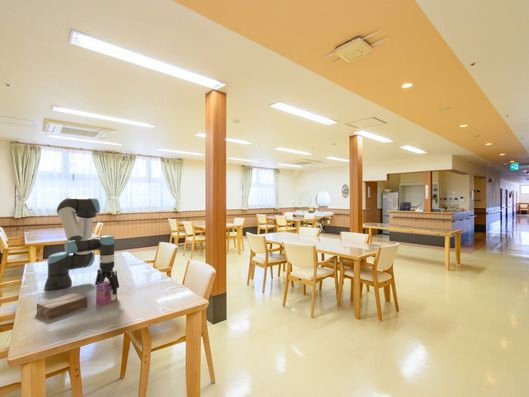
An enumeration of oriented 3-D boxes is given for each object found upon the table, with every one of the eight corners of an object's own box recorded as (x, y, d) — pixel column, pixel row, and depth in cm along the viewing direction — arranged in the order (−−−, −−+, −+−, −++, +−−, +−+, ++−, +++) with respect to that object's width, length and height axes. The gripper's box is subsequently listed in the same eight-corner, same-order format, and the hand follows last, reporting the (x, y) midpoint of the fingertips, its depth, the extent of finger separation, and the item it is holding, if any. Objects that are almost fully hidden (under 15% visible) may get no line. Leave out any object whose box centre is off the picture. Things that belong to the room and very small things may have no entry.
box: (104, 305, 153) (104, 285, 153) (95, 304, 154) (95, 284, 154) (117, 298, 163) (117, 279, 163) (109, 298, 164) (109, 279, 164)
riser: (36, 314, 141) (36, 303, 141) (74, 302, 157) (74, 292, 157) (49, 320, 135) (49, 308, 135) (87, 307, 151) (87, 297, 151)
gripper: (88, 261, 159) (88, 297, 159) (114, 264, 150) (114, 303, 150) (100, 258, 166) (100, 293, 166) (126, 262, 157) (126, 299, 157)
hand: (107, 298), depth 158 cm, fingers open, 10 cm apart
